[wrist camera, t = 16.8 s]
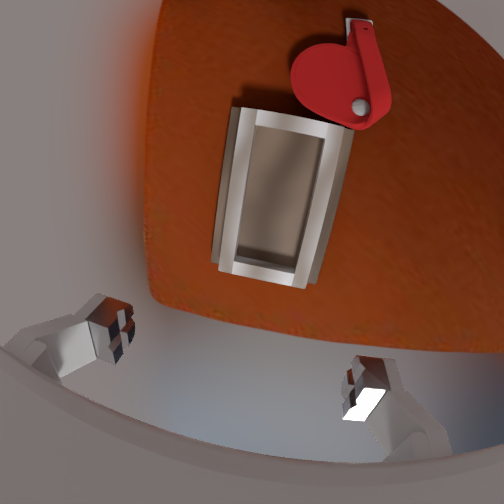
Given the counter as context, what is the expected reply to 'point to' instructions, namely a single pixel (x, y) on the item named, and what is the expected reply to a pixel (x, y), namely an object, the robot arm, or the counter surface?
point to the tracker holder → (344, 78)
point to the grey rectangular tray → (278, 195)
